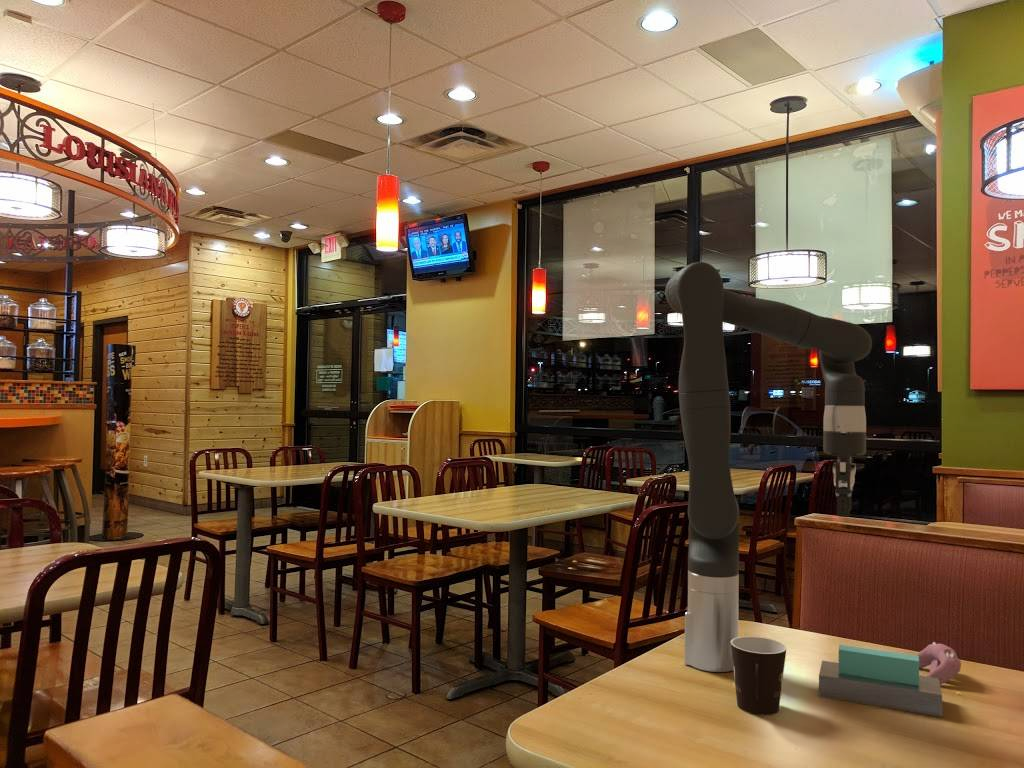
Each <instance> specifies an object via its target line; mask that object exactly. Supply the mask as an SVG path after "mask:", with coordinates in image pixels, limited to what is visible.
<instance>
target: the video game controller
mask: <svg viewBox="0 0 1024 768" xmlns="http://www.w3.org/2000/svg"><path fill="white" fill-rule="evenodd" d="M915 655H916V656H918V657H919V669H923V668H927V667H929V673H928V674H927V675H926V677H933V678H939V683H940V685H942V684H944V683H946V682H949V680H950V679H952V678H953V677H955V676H956V675H958V673H959V672H960V671H961V670H962V669H961V667H962V661H961V660H960V658H959V657H958V654H957V653H956V651H955V650H954V649H953V648H952V647H950V646H948V645H945V644H943V643H936V642H935V641H933V642H932V644H931V643H929V644H928V645H927V646H926V647H925V648H923V649H922V650H921V651H919V652H917V653H916V654H915Z"/></svg>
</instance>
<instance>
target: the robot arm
mask: <svg viewBox="0 0 1024 768" xmlns="http://www.w3.org/2000/svg"><path fill="white" fill-rule="evenodd" d="M664 290H665V292H664V293H665V294H664V295H665V299H666V301H667V304H668V305H669V307H670V308H671V309H672V310H673V311H674V312H676V313H678V314H681V317H682V319H681V320H682V325H683V326H682V327H683V335H684V336H683V337H684V338H683V349H682V354H681V360H680V365H679V366H680V367H679V374H678V400H679V401H678V402H679V413H680V420H681V427H682V433H683V439H684V444H685V445H684V446H685V450H686V454H687V460H688V504H687V505H688V506H687V517H688V521H689V528H688V529H689V530H688V531H689V532H688V533H689V535H688V556H687V610H686V612H685V613H684V665H686V666H687V665H688V666H691V667H693V668H695V669H698V670H701V671H706V672H713V673H715V672H716V673H725V672H726V673H727V672H732V671H734V669H733V660H732V651H731V640H732V639H734V638H737V637H739V601H740V600H739V589H740V588H739V584H740V583H739V582H740V581H739V578H740V577H739V575H740V574H739V571H740V569H739V568H740V566H739V565H740V552H739V551H740V506H739V502H738V499H737V498H736V496H735V492H734V490H735V489H734V486H733V481H732V474H731V473H732V472H731V467H730V449H731V448H730V447H731V433H732V430H731V429H732V428H731V427H732V426H731V425H732V423H731V421H732V419H731V418H732V417H731V416H732V415H731V413H732V412H731V399H730V390H729V389H730V387H729V380H728V371H727V370H728V368H727V360H726V359H727V357H726V351H725V342H724V323H725V324H729V325H734V326H736V327H740V328H743V329H746V330H749V331H752V332H755V333H757V334H760V335H763V336H766V337H769V338H771V339H774V340H776V341H779V342H783V343H785V344H789V345H791V346H794V347H797V348H801V349H813V350H817V351H818V356H819V363H820V367H821V372H822V377H823V380H824V385H825V387H824V412H823V429H822V430H823V435H822V436H823V438H822V439H823V445H822V446H823V447H822V448H823V452H824V453H825V454H828V455H835V456H836V457H837V459H836V461H835V462H834V463H832V473H833V485H834V487H835V489H834V492H835V493H834V494H835V496H836V515H837V517H839V518H849V517H850V514H851V513H850V512H851V511H852V492H853V490H854V485H855V482H856V481H855V480H856V478H855V476H856V473H857V471H856V470H857V464H856V463H853V462H854V459H853V456H864V455H865V454H866V453H867V416H866V407H865V405H866V404H865V403H866V400H865V399H866V397H865V392H866V391H865V381H864V379H863V378H862V376H859V375H857V373H856V368H855V362H858V361H860V360H863V359H864V358H866V357H867V356H868V355H869V354H870V352H871V350H872V347H873V339H872V337H871V335H870V334H869V332H868V331H867V330H866V329H865V328H864V327H862V326H861V325H859V324H855V323H852V322H849V321H845V320H841V319H837V318H833V317H832V318H831V317H827V316H821V315H818V314H814V313H813V312H811V311H808V310H805V309H802V308H800V307H797V306H794V305H791V304H787V303H785V302H780V301H776V300H771V299H765V298H758V297H753V296H749V295H743V294H741V293H736V292H734V291H730V290H728V289H725V288H724V282H723V279H722V276H721V274H720V272H719V271H718V269H716V268H715V267H714V266H713V265H712V264H710V263H708V262H704V261H695V262H692V263H690V264H687V265H686V266H684V267H683V268H681V269H680V270H678V271H677V272H676V273H675V274H673V275H672V276H671V277H670V279H669V280H668V281H667V283H666V285H665V289H664Z"/></svg>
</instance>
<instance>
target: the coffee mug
mask: <svg viewBox="0 0 1024 768" xmlns="http://www.w3.org/2000/svg"><path fill="white" fill-rule="evenodd" d="M731 651H732V660H733V669H734V670H733V678H734V687H735V696H736V697H735V698H736V705H737V707H738V708H739V709H740V710H742V711H744V712H745V713H748V714H751V715H757V716H773V715H775V714H777V713H779V710H780V702H781V696H782V687H783V679H784V671H785V665H786V663H785V662H786V656H787V645H785V644H784V643H782V642H781V641H777V640H776V639H773V638H772V639H771V638H767V637H761V636H753V635H751V636H747V635H746V636H745V635H744V636H738V637H737V638H734V639H732V640H731Z"/></svg>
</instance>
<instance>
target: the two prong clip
mask: <svg viewBox="0 0 1024 768" xmlns="http://www.w3.org/2000/svg"><path fill="white" fill-rule="evenodd" d="M838 663H839V673H840V674H845V675H849V676H855V677H865V678H871V679H877V680H884V681H890V682H896V683H899V684H906V685H915V686H919V675H920V668H919V657H918V656H916V654H909V653H908V654H907V653H901V652H895V651H887V650H880V649H875V648H874V649H872V648H867V647H866V648H865V647H860V646H852V645H846V644H845V645H844V644H839V646H838Z"/></svg>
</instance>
